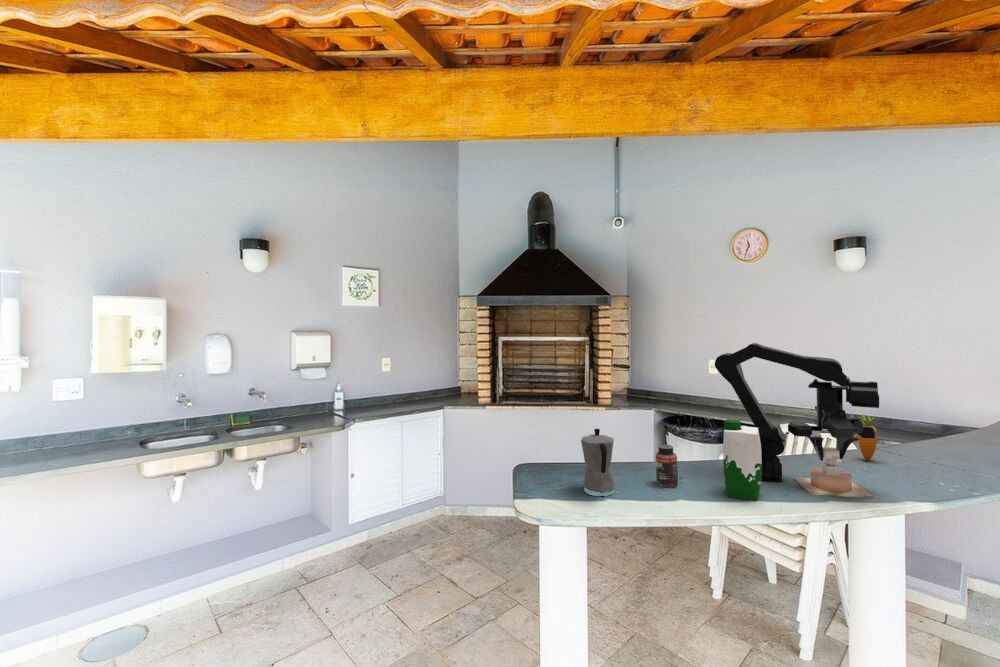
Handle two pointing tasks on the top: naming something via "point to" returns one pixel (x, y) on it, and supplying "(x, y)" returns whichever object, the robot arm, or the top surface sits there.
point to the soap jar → (831, 479)
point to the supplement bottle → (666, 466)
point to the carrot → (867, 440)
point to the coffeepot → (598, 462)
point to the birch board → (813, 490)
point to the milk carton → (742, 460)
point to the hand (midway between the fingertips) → (830, 460)
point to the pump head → (831, 455)
